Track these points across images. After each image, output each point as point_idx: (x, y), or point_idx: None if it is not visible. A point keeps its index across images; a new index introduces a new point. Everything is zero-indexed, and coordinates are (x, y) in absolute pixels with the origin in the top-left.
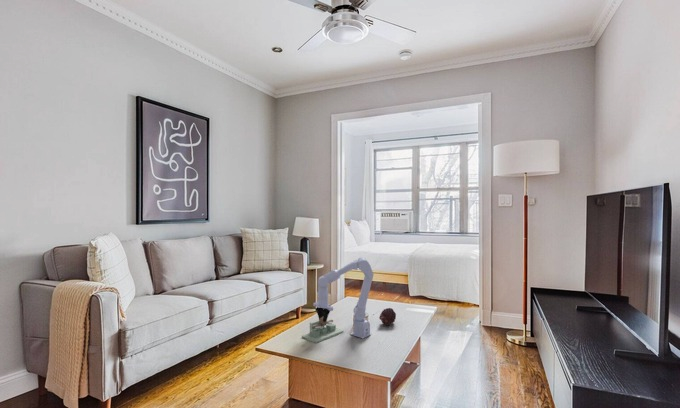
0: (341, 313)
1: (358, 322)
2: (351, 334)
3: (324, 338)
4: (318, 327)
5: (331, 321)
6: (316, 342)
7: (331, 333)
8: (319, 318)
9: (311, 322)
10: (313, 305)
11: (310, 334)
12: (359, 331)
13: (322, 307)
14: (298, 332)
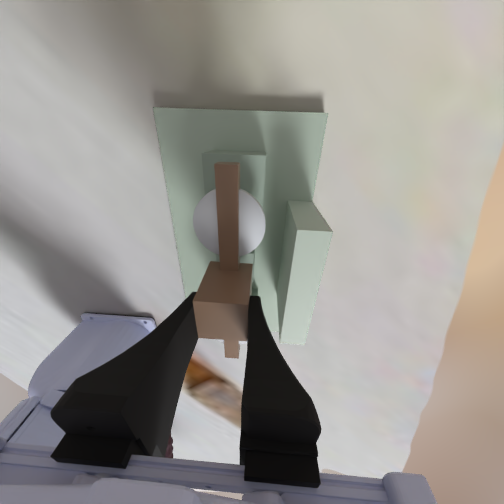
0: (343, 424)
1: (56, 383)
2: (143, 318)
3: (170, 198)
4: (194, 210)
5: (223, 342)
6: (157, 111)
7: (200, 273)
8: (241, 302)
9: (317, 243)
10: (426, 491)
11: (257, 152)
12: (88, 338)
13: (60, 499)
14: (408, 174)
